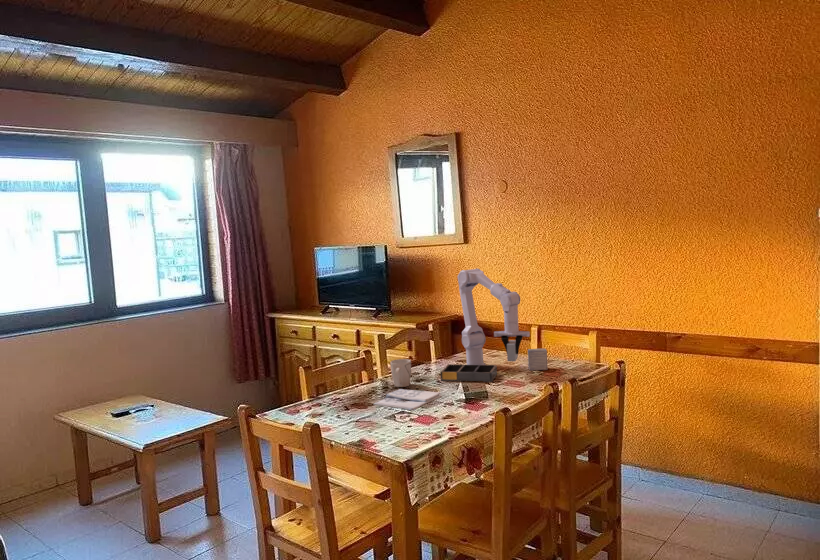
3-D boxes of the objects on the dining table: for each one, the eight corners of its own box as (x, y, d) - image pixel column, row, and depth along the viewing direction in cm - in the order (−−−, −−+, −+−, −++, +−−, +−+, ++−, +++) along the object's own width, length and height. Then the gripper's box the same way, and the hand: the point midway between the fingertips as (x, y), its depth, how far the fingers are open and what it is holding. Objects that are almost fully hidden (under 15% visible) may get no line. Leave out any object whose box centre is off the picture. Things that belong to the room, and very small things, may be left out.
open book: (442, 397, 232) (441, 392, 232) (412, 412, 216) (412, 406, 216) (401, 392, 243) (400, 386, 243) (369, 406, 227) (369, 400, 226)
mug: (408, 390, 243) (407, 365, 243) (387, 390, 245) (386, 365, 244) (414, 382, 255) (412, 358, 254) (394, 382, 256) (392, 359, 255)
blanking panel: (510, 356, 260) (509, 340, 260) (517, 356, 259) (517, 340, 259) (507, 361, 252) (506, 344, 251) (515, 361, 251) (514, 344, 250)
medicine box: (546, 367, 267) (545, 348, 266) (547, 370, 263) (547, 350, 262) (528, 368, 268) (527, 348, 267) (529, 370, 263) (528, 350, 263)
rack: (448, 372, 267) (448, 364, 267) (496, 373, 261) (496, 365, 261) (440, 381, 254) (440, 372, 254) (491, 382, 248) (491, 373, 248)
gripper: (492, 323, 253) (493, 355, 254) (527, 322, 248) (529, 355, 250) (494, 320, 259) (496, 351, 261) (529, 320, 255) (530, 352, 256)
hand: (512, 353), depth 256 cm, fingers closed on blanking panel, 3 cm apart
